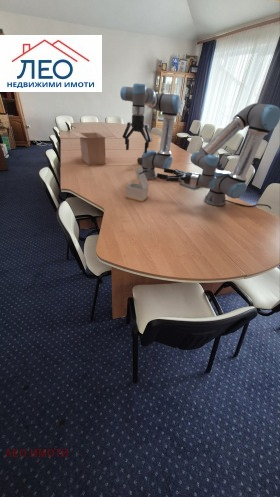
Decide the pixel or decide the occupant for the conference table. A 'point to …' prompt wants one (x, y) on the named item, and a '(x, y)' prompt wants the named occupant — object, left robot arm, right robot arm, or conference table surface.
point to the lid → (142, 177)
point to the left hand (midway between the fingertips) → (136, 151)
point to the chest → (136, 192)
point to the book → (188, 185)
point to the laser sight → (140, 160)
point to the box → (92, 146)
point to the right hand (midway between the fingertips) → (160, 172)
